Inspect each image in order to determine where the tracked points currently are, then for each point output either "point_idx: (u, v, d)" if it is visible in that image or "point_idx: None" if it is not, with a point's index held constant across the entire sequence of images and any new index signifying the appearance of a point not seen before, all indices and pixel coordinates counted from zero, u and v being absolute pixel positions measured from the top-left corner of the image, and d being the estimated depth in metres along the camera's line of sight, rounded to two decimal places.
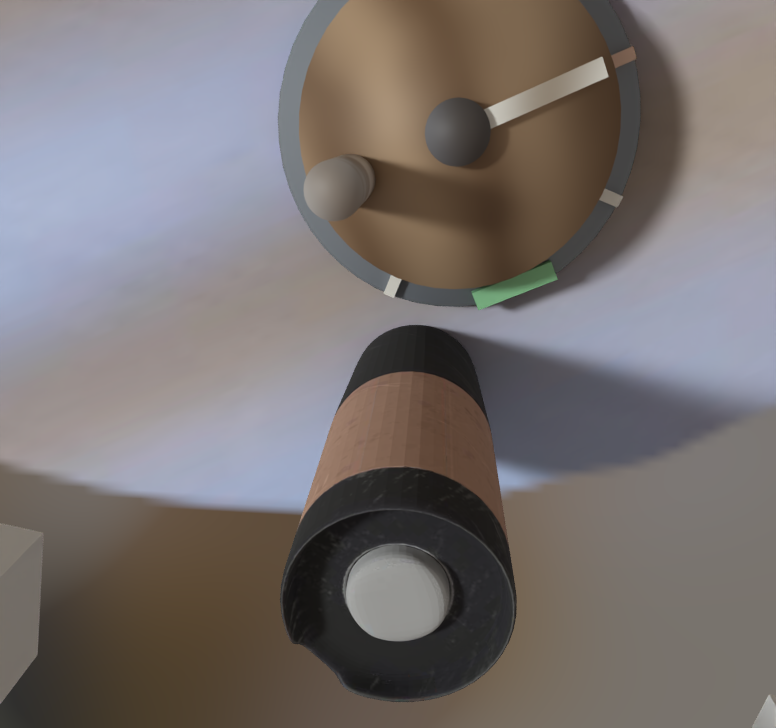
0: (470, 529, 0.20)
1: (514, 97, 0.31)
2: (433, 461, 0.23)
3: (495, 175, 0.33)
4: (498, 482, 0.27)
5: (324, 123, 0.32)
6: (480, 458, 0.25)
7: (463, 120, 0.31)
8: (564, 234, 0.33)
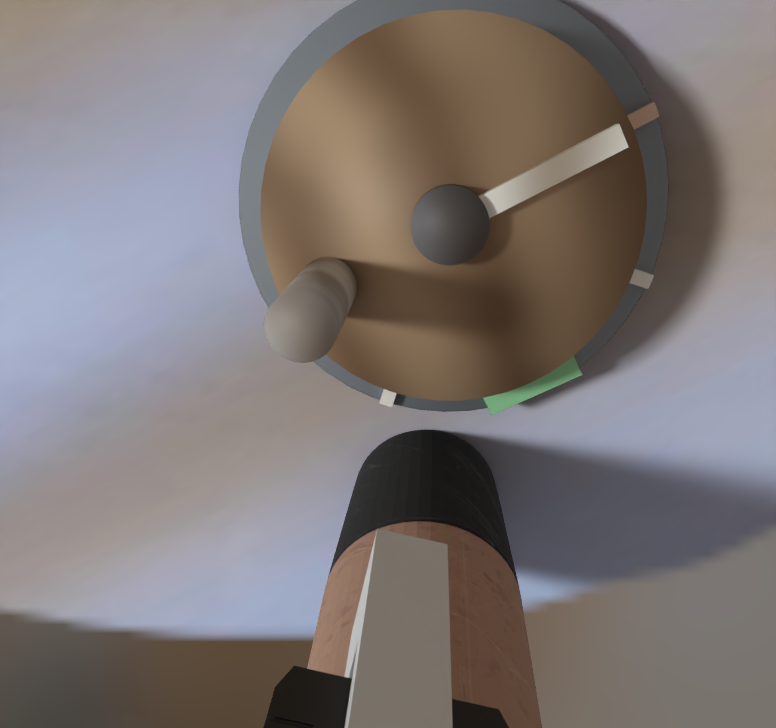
0: None
1: (515, 179, 0.26)
2: None
3: (499, 269, 0.27)
4: (532, 680, 0.21)
5: (291, 224, 0.27)
6: (507, 663, 0.20)
7: (455, 212, 0.26)
8: (587, 330, 0.28)
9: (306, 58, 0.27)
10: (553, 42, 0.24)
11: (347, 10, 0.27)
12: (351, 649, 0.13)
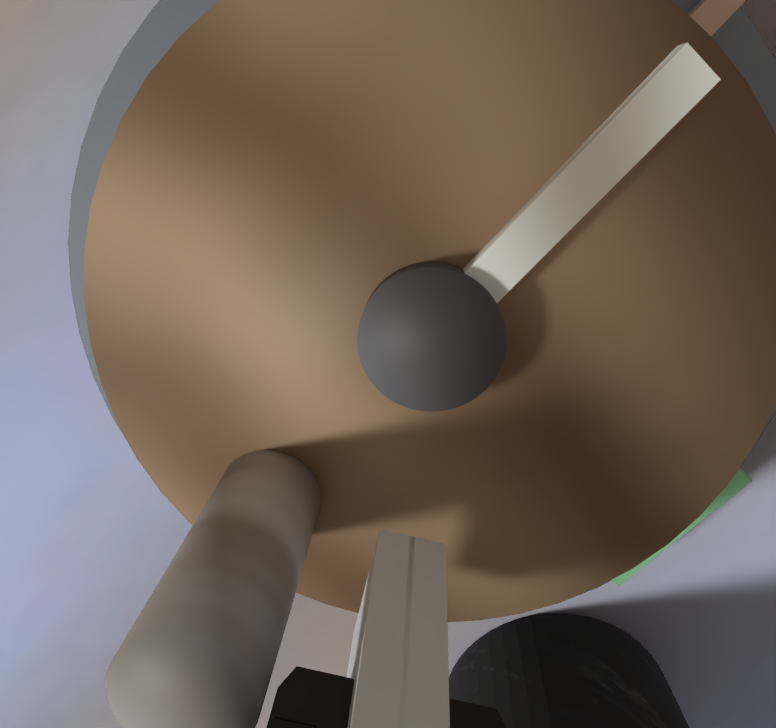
0: None
1: (520, 219, 0.13)
2: None
3: (547, 377, 0.15)
4: None
5: (171, 422, 0.16)
6: None
7: (432, 315, 0.14)
8: (746, 427, 0.15)
9: (106, 145, 0.16)
10: None
11: (136, 41, 0.15)
12: (353, 649, 0.13)
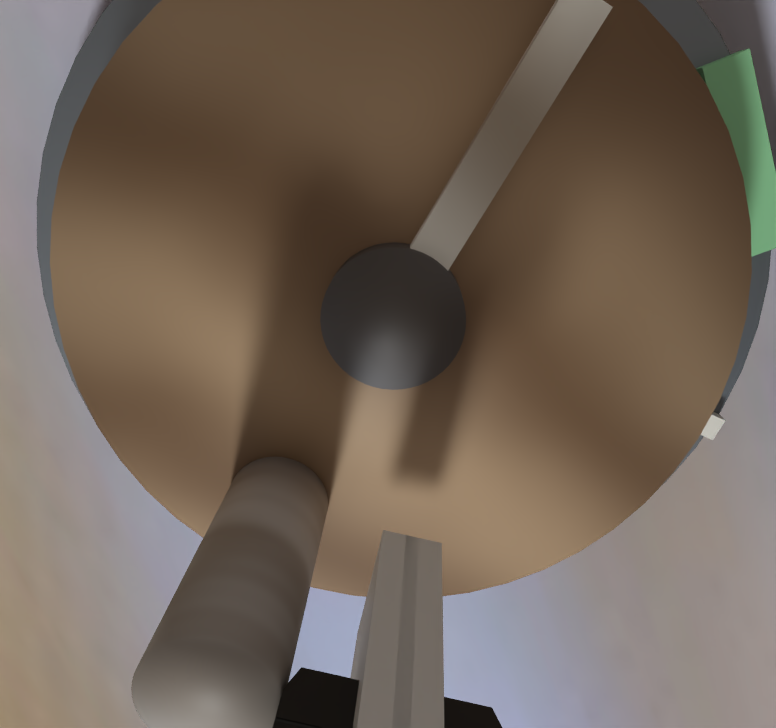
0: None
1: (451, 185, 0.13)
2: None
3: (516, 333, 0.15)
4: None
5: (170, 448, 0.16)
6: None
7: (387, 294, 0.14)
8: (723, 342, 0.15)
9: None
10: None
11: None
12: (357, 650, 0.13)
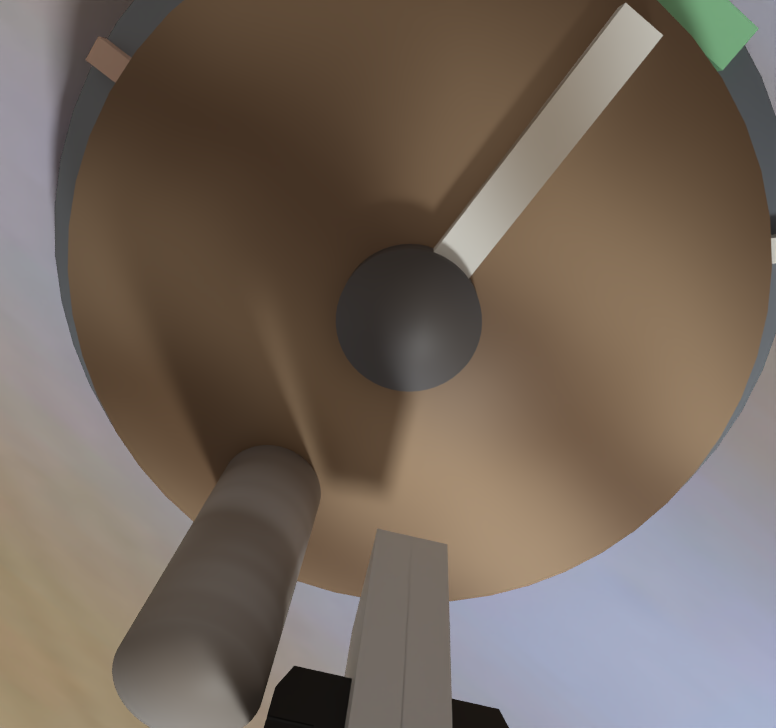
0: None
1: (482, 193, 0.13)
2: None
3: (528, 348, 0.15)
4: None
5: (168, 426, 0.16)
6: None
7: (406, 296, 0.14)
8: (731, 378, 0.15)
9: None
10: None
11: None
12: (351, 649, 0.13)
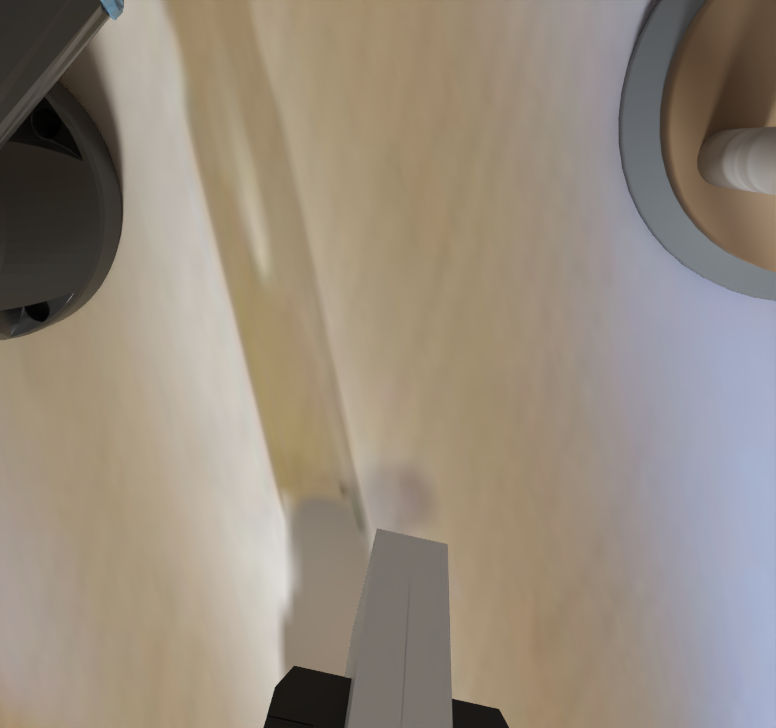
0: None
1: None
2: None
3: None
4: None
5: (704, 95, 0.29)
6: None
7: None
8: None
9: (664, 223, 0.33)
10: None
11: (635, 184, 0.33)
12: (351, 649, 0.13)
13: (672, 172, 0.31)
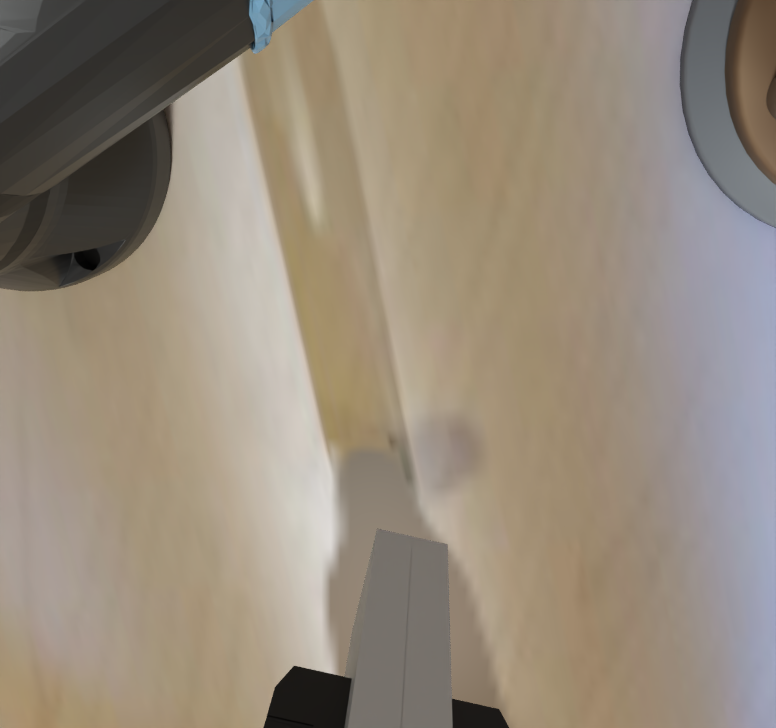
0: None
1: None
2: None
3: None
4: None
5: None
6: None
7: None
8: None
9: (725, 165, 0.33)
10: None
11: (698, 124, 0.32)
12: (351, 649, 0.13)
13: (738, 110, 0.31)
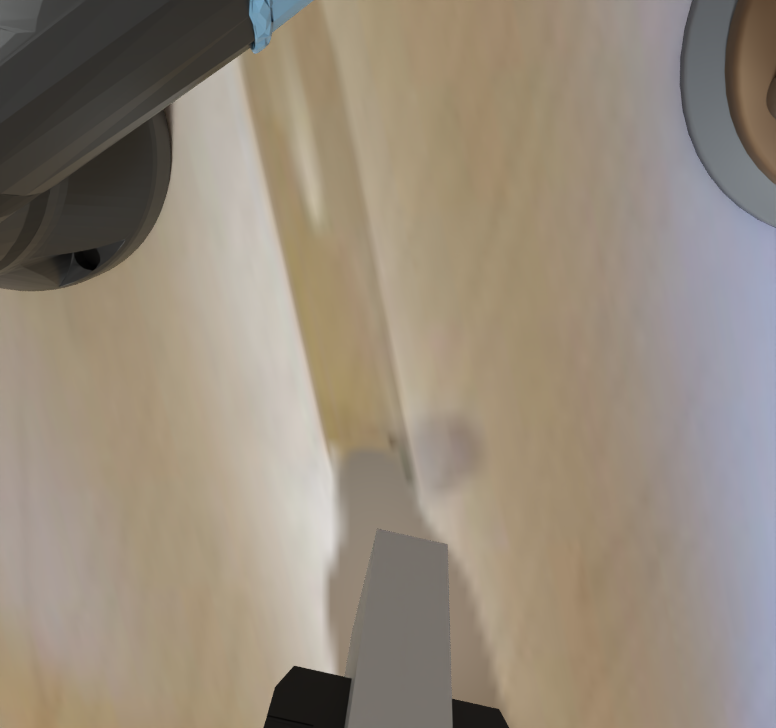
0: None
1: None
2: None
3: None
4: None
5: None
6: None
7: None
8: None
9: (725, 164, 0.33)
10: None
11: (698, 124, 0.32)
12: (351, 649, 0.13)
13: (738, 110, 0.31)
